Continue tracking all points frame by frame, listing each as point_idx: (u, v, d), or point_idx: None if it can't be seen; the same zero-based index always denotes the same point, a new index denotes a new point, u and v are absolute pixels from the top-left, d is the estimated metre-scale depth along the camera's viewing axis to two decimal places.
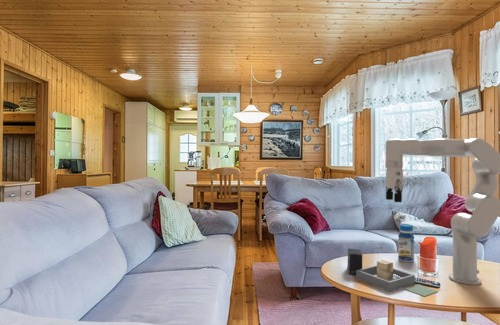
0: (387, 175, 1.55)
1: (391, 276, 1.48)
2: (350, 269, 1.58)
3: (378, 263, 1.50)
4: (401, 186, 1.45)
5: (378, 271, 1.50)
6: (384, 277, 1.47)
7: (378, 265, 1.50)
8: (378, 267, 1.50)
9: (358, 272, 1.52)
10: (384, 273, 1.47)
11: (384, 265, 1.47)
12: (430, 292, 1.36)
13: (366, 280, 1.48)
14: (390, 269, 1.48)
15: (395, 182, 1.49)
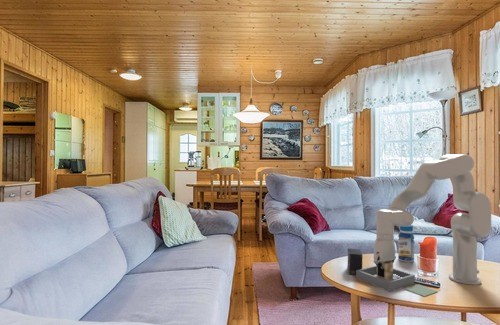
0: (387, 248, 1.47)
1: (391, 276, 1.48)
2: (350, 269, 1.58)
3: None
4: None
5: None
6: (384, 277, 1.47)
7: None
8: None
9: (358, 272, 1.52)
10: (384, 273, 1.47)
11: (384, 265, 1.47)
12: (430, 292, 1.36)
13: (366, 280, 1.48)
14: (390, 269, 1.48)
15: None
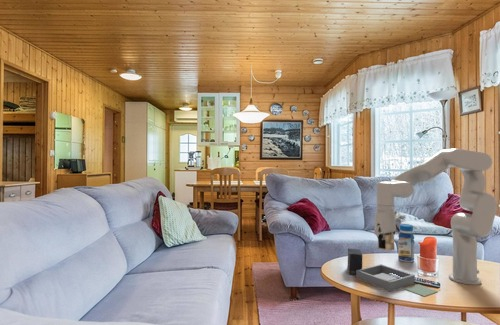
0: (388, 220, 1.47)
1: (392, 248, 1.48)
2: (350, 269, 1.58)
3: None
4: None
5: None
6: (385, 249, 1.47)
7: None
8: None
9: (358, 272, 1.52)
10: (385, 244, 1.47)
11: (385, 237, 1.47)
12: (430, 292, 1.36)
13: (366, 280, 1.48)
14: (391, 241, 1.48)
15: None
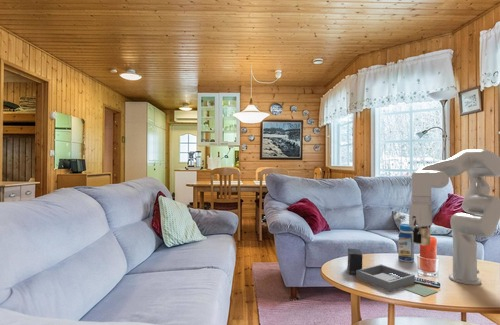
0: (424, 212, 1.36)
1: (428, 242, 1.37)
2: (350, 269, 1.58)
3: None
4: None
5: None
6: (421, 243, 1.36)
7: None
8: None
9: (358, 272, 1.52)
10: (421, 238, 1.36)
11: (421, 230, 1.36)
12: (430, 292, 1.36)
13: (366, 280, 1.48)
14: (427, 235, 1.37)
15: None
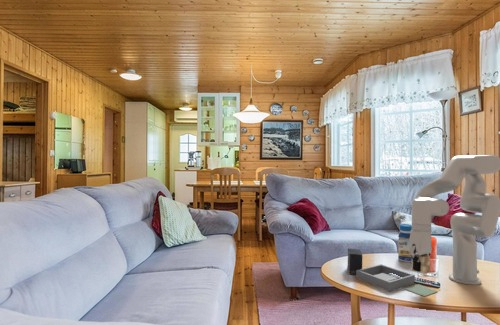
0: (424, 240, 1.36)
1: (428, 270, 1.37)
2: (350, 269, 1.58)
3: None
4: None
5: None
6: (420, 271, 1.36)
7: None
8: None
9: (358, 272, 1.52)
10: (421, 266, 1.36)
11: (421, 258, 1.36)
12: (430, 292, 1.36)
13: (366, 280, 1.48)
14: (427, 263, 1.37)
15: None
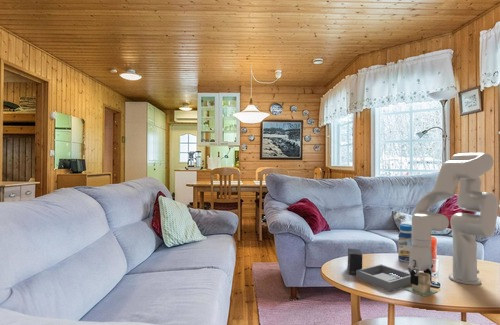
0: (424, 256, 1.36)
1: (428, 289, 1.37)
2: (350, 269, 1.58)
3: None
4: None
5: (413, 284, 1.39)
6: (421, 290, 1.36)
7: None
8: None
9: (358, 272, 1.52)
10: (421, 286, 1.36)
11: (421, 277, 1.36)
12: (430, 292, 1.36)
13: (366, 280, 1.48)
14: (427, 282, 1.37)
15: None
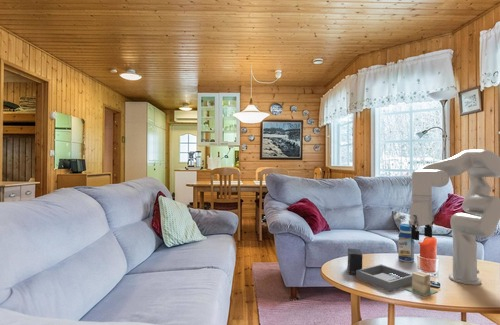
0: (425, 211, 1.36)
1: (428, 289, 1.37)
2: (350, 269, 1.58)
3: (414, 275, 1.39)
4: None
5: (413, 284, 1.39)
6: (421, 290, 1.36)
7: (413, 277, 1.39)
8: (414, 279, 1.39)
9: (358, 272, 1.52)
10: (421, 286, 1.36)
11: (421, 277, 1.36)
12: (430, 292, 1.36)
13: (366, 280, 1.48)
14: (427, 282, 1.37)
15: None
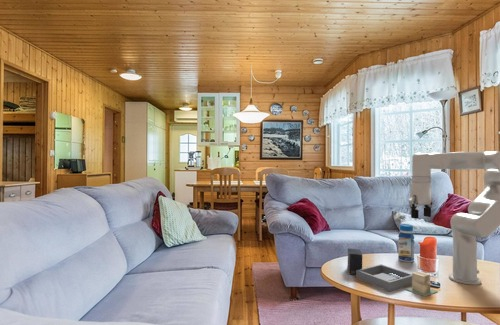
0: (424, 191, 1.44)
1: (428, 289, 1.37)
2: (350, 269, 1.58)
3: (414, 275, 1.39)
4: None
5: (413, 284, 1.39)
6: (421, 290, 1.36)
7: (413, 277, 1.39)
8: (414, 279, 1.39)
9: (358, 272, 1.52)
10: (421, 286, 1.36)
11: (421, 277, 1.36)
12: (430, 292, 1.36)
13: (366, 280, 1.48)
14: (427, 282, 1.37)
15: None
